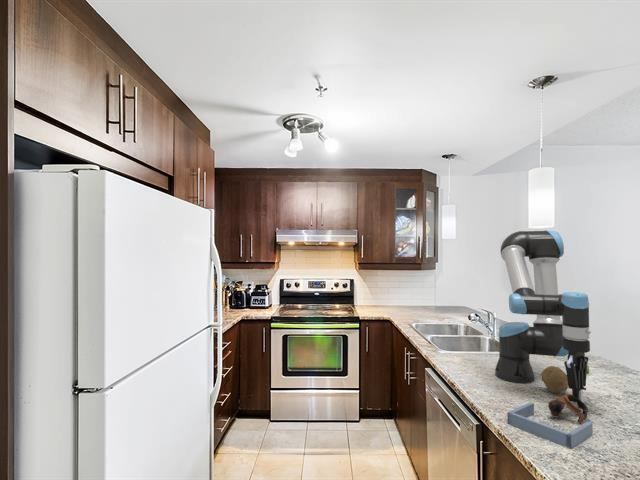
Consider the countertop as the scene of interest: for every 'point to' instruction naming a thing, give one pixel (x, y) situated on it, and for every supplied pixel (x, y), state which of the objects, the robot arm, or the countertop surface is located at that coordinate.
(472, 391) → the countertop surface
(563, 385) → the natural sponge
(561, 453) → the countertop surface
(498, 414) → the countertop surface
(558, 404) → the brown curved ring piece
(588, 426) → the blue-grey u-shaped frame
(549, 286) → the robot arm
